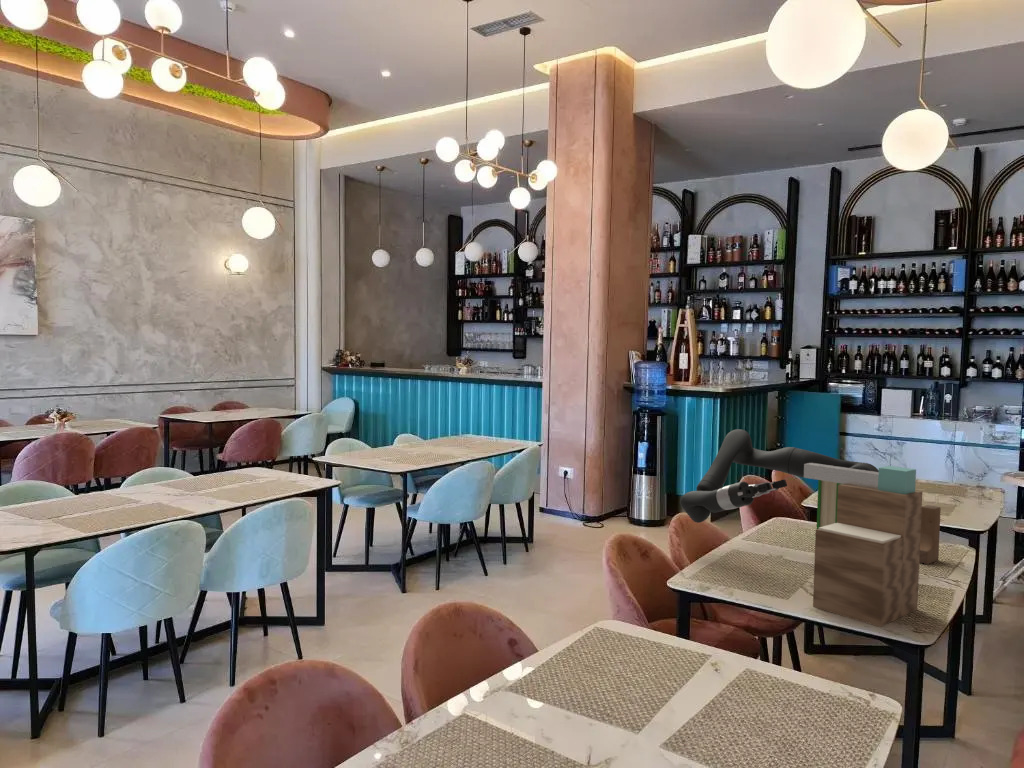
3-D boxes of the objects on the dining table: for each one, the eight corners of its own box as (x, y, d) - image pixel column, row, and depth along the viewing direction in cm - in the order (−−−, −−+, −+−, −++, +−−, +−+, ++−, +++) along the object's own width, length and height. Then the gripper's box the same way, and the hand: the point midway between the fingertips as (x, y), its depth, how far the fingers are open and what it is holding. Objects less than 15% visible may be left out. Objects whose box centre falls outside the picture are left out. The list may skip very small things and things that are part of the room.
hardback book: (837, 544, 264) (839, 478, 263) (816, 540, 269) (818, 475, 268) (853, 535, 277) (855, 472, 276) (833, 532, 282) (835, 470, 281)
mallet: (812, 475, 219) (813, 455, 218) (915, 491, 196) (916, 469, 196) (801, 477, 215) (802, 457, 215) (904, 494, 192) (905, 471, 192)
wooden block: (927, 565, 240) (929, 510, 239) (912, 561, 244) (914, 507, 243) (938, 560, 246) (941, 507, 245) (924, 557, 249) (926, 504, 248)
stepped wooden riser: (851, 591, 212) (855, 481, 211) (917, 609, 198) (922, 491, 196) (812, 606, 199) (817, 489, 198) (880, 626, 185) (885, 500, 183)
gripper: (751, 504, 238) (794, 493, 226) (725, 510, 229) (768, 499, 217) (744, 482, 240) (787, 469, 228) (717, 487, 231) (761, 474, 219)
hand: (778, 484), depth 223 cm, fingers open, 8 cm apart
